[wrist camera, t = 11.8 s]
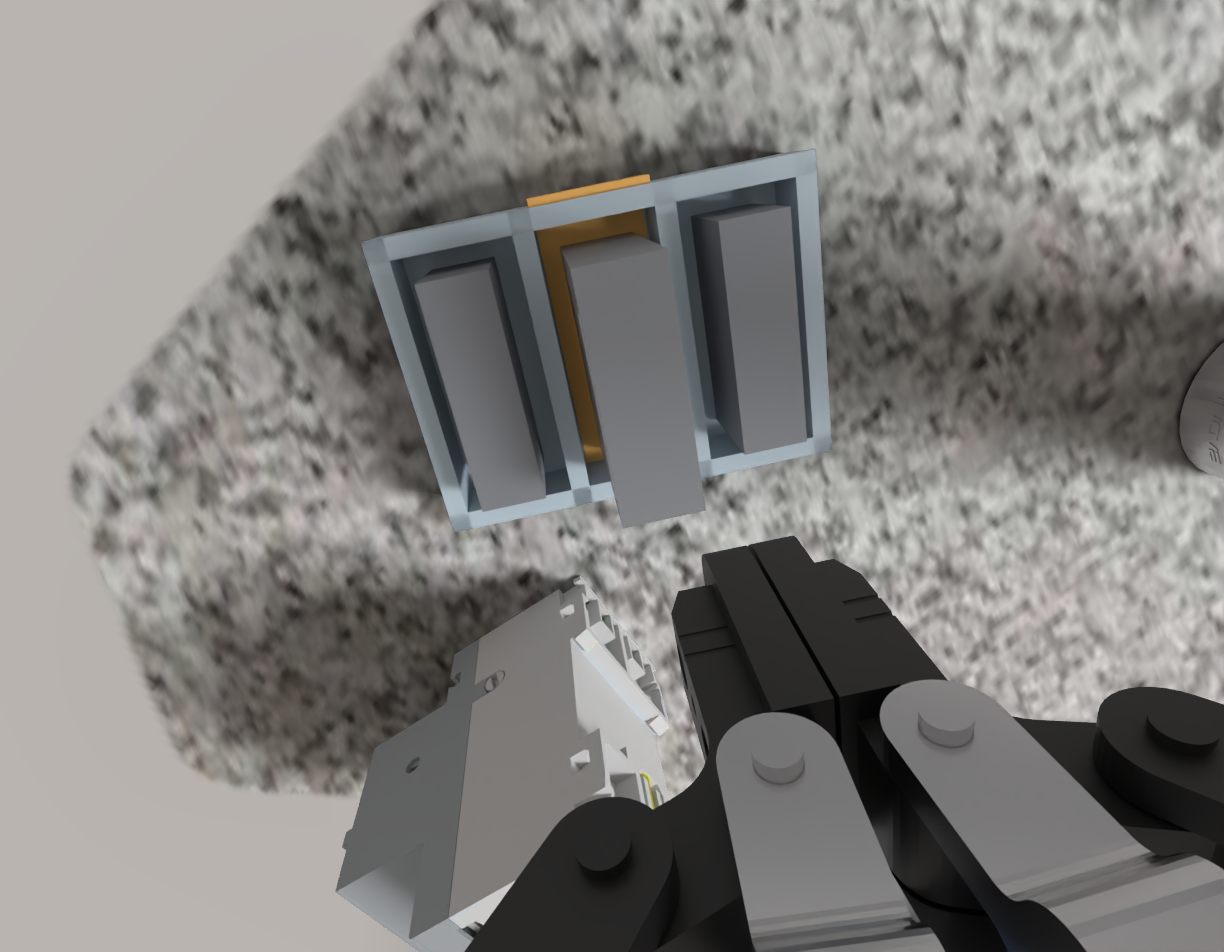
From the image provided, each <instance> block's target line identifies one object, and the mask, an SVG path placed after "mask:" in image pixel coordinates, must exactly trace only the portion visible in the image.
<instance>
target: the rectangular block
mask: <svg viewBox="0 0 1224 952" xmlns="http://www.w3.org/2000/svg"><path fill="white" fill-rule="evenodd" d="M560 251H561V256H562V261H563V265H564V270H565V275H566V280H567V285H568V290H569V294H570V299H571V304H572V309H573V314H574V318H575V323H576V328H577V333H578V338H579V343H580V347H581V352H582V357H583V362H584V367H585V372H586V376H587V381H588V386H589V391H590V396H591V400H592V405H593V410H594V415H595V420H596V425H597V429H598V434H599V439H600V444H601V448H602V452H603V456H604V460H605V463H606V467H607V471H608V474H609V478H610V482H611V485H612V489H613V493H614V496H615V500H616V504H617V508H618V511H619V515H620V519H621V522H622V526H623V528H627V527H632V526H636V525H641V524H645V523H650V522H654V521H659V520H663V519H668V518H673V517H677V516H682V515H686V514H691V513H695V512H700V511H705V503H704V496H703V489H702V482H701V475H700V468H699V461H698V454H697V447H696V440H695V433H694V426H693V419H692V412H691V405H690V398H689V391H688V384H687V377H686V370H685V363H684V357H683V350H682V343H681V336H680V329H679V322H678V315H677V308H676V301H675V294H674V287H673V280H672V273H671V266H670V259H669V252H668V249H667V248H665V247H663V246H661V245H659V244H657V243H655V242H652V241H650V240H648V239H646V238H644V237H642V236H640V235H637V234H635V233H633V232H628V233H623V234H618V235H613V236H608V237H604V238H599V239H594V240H589V241H584V242H579V243H575V244H570V245H565V246H560Z"/></svg>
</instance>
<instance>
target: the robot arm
mask: <svg viewBox="0 0 1224 952" xmlns="http://www.w3.org/2000/svg"><path fill="white" fill-rule="evenodd" d="M1179 432H1180V437H1181V443H1182V447H1183V449H1184V451H1185V453H1186V455H1187V457H1188V459H1189V460H1190V461H1191V462H1192V463H1193V464H1194V465H1195V466H1196V467H1197V468H1199V469H1201V470H1203V471H1205V472H1207V473H1209V474H1211V475H1213V476H1215V477H1218V478H1220V479H1222V480H1224V342H1223V343H1222V344H1221V345H1220V346H1219V347H1218V348H1217V349H1216V350H1215V351H1214V352H1213V354H1212V355H1211V356H1210V357H1209V358H1208V359H1207V360H1206V362H1205V363H1204V365H1203V366H1202V367H1201V369H1200V370H1199V372H1198V373H1197V375H1196V376H1195V378H1194V380H1193V382H1192V384H1191V386H1190V388H1189V390H1188V392H1187V395H1186V397H1185V400H1184V404H1183V408H1182V411H1181V415H1180V430H1179ZM702 567H703V574H704V581H705V586H702V587H697V588H692V589H688V590H683V591H678V594H677V597H676V601H675V604H674V607H673V610H672V613H671V614H672V620H673V626H674V631H675V637H676V643H677V649H678V654H679V660H680V666H681V672H682V677H683V683H684V688H685V692H686V695H687V699H688V702H689V706H690V710H691V712H692V716H693V720H694V724H695V727H696V731H697V733H698V738H699V741H700V745H701V749H702V752H703V756H704V759H705V766H704V768H703V770H702V771H701V773H700V775H699V776H698V777H697V779H696V780H695V781H694V782H693V783H692V784H691V785H690V786H689V787H688V788H687V789H686V790H685V791H683V792H682V793H680V794H679V795H677V796H676V797H674V798H672V799H671V800H669V801H667V802H665V803H664V804H662V805H660V806H658V807H656V808H655V809H651V808H650V807H649V806H647V805H645V804H643V803H642V802H640V801H637V800H634V799H630V798H624V797H605V798H599V799H596V800H592V801H589V802H587V803H585V804H583V805H580V806H578V807H577V808H575V809H574V810H572V811H571V812H569V813H568V814H567V815H566V816H565V817H563V818H562V819H561V820H560V821H559V822H558V824H557V825H556V826H555V827H554V828H553V830H552V831H551V832H550V834H549V835H548V836H547V838H546V839H545V841H544V842H543V843H542V845H541V846H540V848H539V849H538V850H537V852H536V853H535V854H534V856H533V857H532V859H531V860H530V861H529V863H528V864H527V865H526V867H525V868H524V870H523V871H522V872H521V874H520V875H519V877H518V878H517V879H516V881H515V882H514V883H513V885H512V886H511V888H510V889H509V890H508V892H507V893H506V895H505V896H504V897H503V899H502V900H501V901H500V903H499V904H498V906H497V907H496V908H495V910H494V911H493V913H492V914H491V915H490V917H489V918H488V919H487V921H486V922H485V924H484V925H483V926H482V928H481V929H480V931H479V932H478V933H477V935H476V936H475V937H474V939H473V940H472V942H471V943H470V944H469V946H468V947H467V949H466V950H465V951H464V952H1224V705H1223V704H1220V703H1217V702H1214V701H1211V700H1208V699H1205V698H1202V697H1199V696H1196V695H1192V694H1189V693H1185V692H1182V691H1177V690H1172V689H1167V688H1157V687H1136V688H1128V689H1125V690H1121V691H1118V692H1116V693H1114V694H1111V695H1110V696H1109V697H1107V698H1106V699H1105V700H1104V701H1103V703H1102V704H1101V705H1100V708H1099V711H1098V716H1097V723H1088V722H1067V721H1047V720H1032V719H1023V718H1018V717H1012V716H1011V715H1010V714H1009V713H1008V712H1007V711H1006V710H1005V709H1004V708H1003V707H1002V706H1001V705H999V704H998V703H997V702H996V701H995V700H994V699H992V698H991V697H989V696H988V695H986V694H984V693H982V692H980V691H978V690H976V689H974V688H972V687H969V686H966V685H964V684H960V683H956V682H952V681H948V680H947V679H946V678H945V676H944V675H943V674H942V673H941V672H940V670H939V669H938V668H937V667H936V665H935V664H934V663H933V662H932V661H931V659H930V658H929V657H928V656H927V654H926V653H925V652H924V651H923V649H922V648H921V647H920V646H919V645H918V643H917V642H916V641H915V640H914V638H913V637H912V636H911V635H910V634H909V632H908V631H907V630H906V629H905V627H904V626H903V625H902V624H901V622H900V621H899V620H898V619H897V618H896V616H893V615H892V613H891V610H890V609H889V608H888V606H887V605H886V604H885V603H884V602H883V600H882V599H881V598H878V595H877V593H876V592H875V591H874V589H873V588H872V587H871V586H870V584H869V583H868V582H867V581H866V579H865V578H864V577H863V576H862V575H861V574H860V573H859V572H857V571H855V570H853V569H851V568H850V567H848V566H846V565H844V564H842V563H840V562H839V561H837V560H835V559H831V560H826V561H821V562H817V563H814V562H813V560H812V559H811V558H810V556H809V555H808V553H807V552H806V551H805V549H804V548H803V546H802V545H801V544H800V542H799V541H798V539H797V538H796V537H795V536H789V537H784V538H779V539H775V540H770V541H765V542H760V543H755V544H750V545H749V546H748V547H747V546H742V547H737V548H732V549H727V550H722V551H718V552H713V553H708V554H703V555H702Z"/></svg>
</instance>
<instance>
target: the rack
mask: <svg viewBox="0 0 1224 952" xmlns="http://www.w3.org/2000/svg"><path fill="white" fill-rule="evenodd" d="M527 204H528V206H524V207H519V208H514V209H509V210H504V211H499V212H494V213H490V214H485V215H480V216H475V217H470V218H465V219H460V220H456V221H451V222H446V223H441V224H436V225H431V226H426V227H422V228H417V229H412V230H407V231H402V232H397V233H392V234H388V235H383V236H379V237H376V238H373V239H370V240H367V241H364V242H361V246H362V249H363V252H364V255H365V258H366V261H367V265H368V268H369V271H370V274H371V277H372V280H373V283H374V286H375V289H376V292H377V295H378V298H379V301H380V305H381V308H382V311H383V314H384V317H385V320H386V323H387V326H388V329H389V332H390V335H391V338H392V342H393V345H394V348H395V351H396V354H397V357H398V360H399V363H400V366H401V369H402V372H403V375H404V379H405V382H406V385H407V388H408V391H409V394H410V397H411V400H412V403H413V406H414V409H415V412H416V415H417V419H418V422H419V425H420V428H421V431H422V434H423V437H424V440H425V443H426V446H427V449H428V452H429V456H430V459H431V462H432V465H433V468H434V471H435V474H436V477H437V480H438V483H439V486H440V489H441V493H442V496H443V499H444V502H445V505H446V508H447V511H448V514H449V517H450V520H451V523H452V526H453V529H454V533H455V532H459V531H464V530H468V529H473V528H478V527H482V526H487V525H491V524H496V523H500V522H505V521H510V520H514V519H519V518H523V517H528V516H533V515H537V514H542V513H546V512H551V511H555V510H560V509H565V508H569V507H574V506H578V505H583V504H587V503H592V502H597V501H601V500H606V499H610V498H615V496H614V493H613V489H612V485H611V482H610V478H609V474H608V471H607V467H606V463H605V460H604V456H603V452H602V448H601V444H600V439H599V434H598V429H597V425H596V420H595V415H594V410H593V405H592V400H591V396H590V391H589V386H588V381H587V376H586V372H585V367H584V362H583V357H582V352H581V347H580V343H579V338H578V333H577V328H576V323H575V318H574V314H573V309H572V304H571V299H570V294H569V290H568V285H567V280H566V275H565V270H564V265H563V261H562V256H561V251H560V246H565V245H570V244H575V243H579V242H584V241H589V240H594V239H599V238H604V237H608V236H613V235H618V234H623V233H628V232H633V233H635V234H637V235H640V236H642V237H644V238H646V239H648V240H650V241H652V242H655V243H657V244H659V245H661V246H663V247H665V248H667V249H668V252H669V259H670V266H671V273H672V280H673V287H674V294H675V301H676V308H677V315H678V322H679V329H680V336H681V343H682V350H683V357H684V363H685V370H686V377H687V384H688V391H689V398H690V405H691V412H692V419H693V426H694V433H695V440H696V447H697V454H698V461H699V468H700V475H701V479H702V478H706V477H711V476H716V475H720V474H725V473H729V472H734V471H739V470H743V469H748V468H752V467H757V466H761V465H766V464H771V463H775V462H780V461H784V460H789V459H793V458H798V457H803V456H807V455H812V454H816V453H821V452H826V451H830V450H832V443H831V425H830V406H829V388H828V370H827V351H826V333H825V314H824V296H823V277H822V259H821V241H820V222H819V204H818V185H817V167H816V149H812V150H804V151H796V152H788V153H781V154H776V155H772V156H767V157H762V158H757V159H752V160H747V161H742V162H738V163H733V164H728V165H723V166H718V167H713V168H708V169H703V170H699V171H694V172H689V173H684V174H679V175H674V176H669V177H665V178H660V179H655V180H650V175H649V174H645V175H638V176H633V177H628V178H623V179H618V180H614V181H609V182H604V183H599V184H594V185H589V186H584V187H579V188H575V189H570V190H565V191H560V192H555V193H550V194H545V195H540V196H536V197H531V198H527Z"/></svg>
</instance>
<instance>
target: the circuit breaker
mask: <svg viewBox="0 0 1224 952" xmlns="http://www.w3.org/2000/svg"><path fill="white" fill-rule="evenodd" d="M573 582H574V584H575V587H573V588H571V589H570V590H568V591H567V592H565V593H562V592H561V591H560V589H558V590H556V591H555V592H553V593H551V594H550V595H548V596H547V597H545V598H543V599H542V600H540V601H539V602H537V603H535V604H534V605H532V606H531V607H529V608H527V609H526V610H524V611H523V612H521V613H519V614H518V615H516V616H515V617H513V618H511V619H510V620H508V621H507V622H505V623H504V624H502V625H500V626H499V627H497V628H496V629H494V630H492V631H491V632H489V633H488V634H486V635H484V636H483V637H481V638H480V639H478V640H476V641H475V642H473V643H472V644H470V645H469V646H467V647H465V648H464V649H462V650H461V651H459V652H457V653H456V654H455V655H454V659H453V665H452V671H451V677H450V679H451V680H452V681H453V682H454V683H455V687H449V690H448V696H447V701H446V703H445V704H444V705H443V706H441V707H440V708H438V709H436V710H435V711H433V712H432V713H430V714H428V715H427V716H425V717H424V718H422V719H420V720H419V721H417V722H415V723H414V724H412V725H411V726H409V727H407V728H406V729H404V730H403V731H401V732H399V733H398V734H396V735H395V736H393V737H391V738H390V739H388V740H387V741H385V742H383V743H382V744H380V745H378V746H377V747H376V748H375V749H374V752H373V756H372V760H371V763H370V767H369V770H368V774H367V778H366V781H365V785H364V789H363V792H362V796H361V799H360V803H359V807H358V811H357V814H356V818H355V821H354V825H353V828H352V829H351V830H349V831H348V832H346V836H345V839H344V843H343V846H342V847H343V848H344V849H346V854H345V858H344V861H343V865H342V868H341V872H340V877H339V880H338V884H337V888H336V893H338V894H339V895H340V896H342V897H343V898H345V899H346V900H347V901H349V902H350V903H352V904H353V905H354V906H356V907H357V908H359V909H360V910H361V911H363V912H364V913H366V914H367V915H369V916H370V917H371V918H373V919H374V920H375V921H377V922H378V923H380V924H381V925H383V926H384V927H385V928H387V929H388V930H390V931H391V932H392V933H394V934H395V935H397V936H398V937H399V938H401V939H402V940H404V941H405V942H406V943H408V944H409V945H411V946H412V947H414V948H415V949H416V950H418V951H419V952H464V951H465V950H466V949H467V947H468V946H469V944H470V943H471V942H472V940H473V939H474V937H475V936H476V935H477V933H478V932H479V931H480V929H481V928H482V926H483V925H484V924H485V922H486V921H487V919H488V918H489V917H490V915H491V914H492V913H493V911H494V910H495V908H496V907H497V906H498V904H499V903H500V901H501V900H502V899H503V897H504V896H505V895H506V893H507V892H508V890H509V889H510V888H511V886H512V885H513V883H514V882H515V881H516V879H517V878H518V877H519V875H520V874H521V872H522V871H523V870H524V868H525V867H526V865H527V864H528V863H529V861H530V860H531V859H532V857H533V856H534V854H535V853H536V852H537V850H538V849H539V848H540V846H541V845H542V843H543V842H544V841H545V839H546V838H547V836H548V835H549V834H550V832H551V831H552V830H553V828H554V827H555V826H556V825H557V824H558V822H559V821H560V820H561V819H562V818H563V817H565V816H566V815H567V814H568V813H569V812H571V811H572V810H574V809H575V808H577V807H578V806H580V805H583V804H585V803H587V802H589V801H592V800H596V799H599V798H605V797H624V798H630V799H634V800H637V801H640V802H642V803H643V804H645V805H647V806H649V807H650V808H651V809H655V808H656V807H658V806H660V805H662V804H664V803H665V802H667V801H669V800H671V796H670V794H669V793H668V792H667V788H666V783H665V779H664V775H663V770H662V766H661V761H660V757H659V753H658V748H657V744H656V739H655V735H657V734H658V735H659V736H661V735H662V734H663V733H664V732H665V731H666V730H667V729H668V728H669V727H670V725H669V721H668V717H667V713H666V709H665V705H664V701H663V698H662V694H661V690H660V686H659V684H658V683H657V682H656V680H655V676H654V672H656V670H655V667H654V666H653V664H652V663H651V662H650V661H649V659H648V658H647V657H646V656H645V655H644V653H643V652H642V651H641V650H640V648H639V647H638V646H637V645H636V644H635V642H634V641H633V640H632V639H631V637H630V636H629V635H628V634H627V633H626V631H625V630H624V629H623V628H622V626H621V625H620V624H619V623H618V622H617V620H616V619H615V618H614V617H613V615H612V614H611V613H610V612H609V610H608V609H607V608H606V607H605V606H604V604H603V603H602V602H601V601H600V599H599V598H598V597H597V596H596V595H595V593H594V592H593V591H592V590H591V588H590V587H589V586H588V585H587V584H586V582H585V581H584V580H583V579H582V577H581V576H578V577H577V578H575V579H574V580H573ZM602 616H603V617H604V618H603V619H602ZM650 697H651V698H652V701H651V700H650V699H649V698H650Z"/></svg>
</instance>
